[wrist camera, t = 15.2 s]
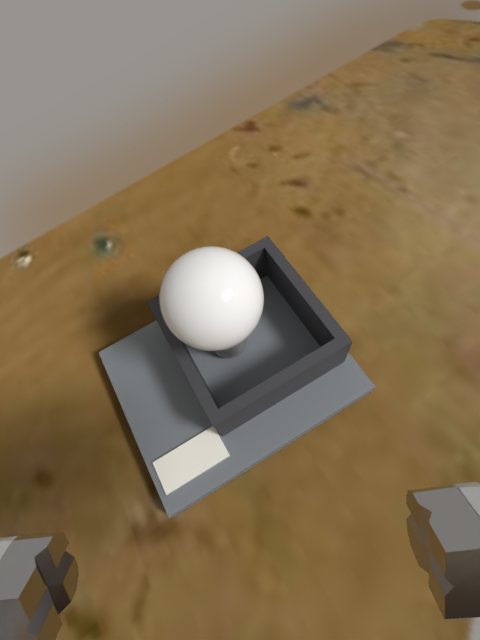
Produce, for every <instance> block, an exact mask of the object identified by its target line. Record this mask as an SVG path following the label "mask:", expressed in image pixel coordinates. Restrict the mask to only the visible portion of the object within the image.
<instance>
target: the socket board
mask: <svg viewBox="0 0 480 640" xmlns="http://www.w3.org/2000/svg"><path fill="white" fill-rule="evenodd" d="M237 253H238V254H240V255H241V256H243V257H244V258H245V259H246V260H247V261H248V262H249V263H250V264H251V265H252V266H253V267H254V269H255V270H256V272H257V274H258V276H259V278H260V280H261V283H262V286H263V291H264V306H263V312H262V315H261V318H260V320H259V322H258V324H257V326H256V328H255V329H254V330H253V332H252V333H251V334H250V335H249V336H248V337H247V338H246V346H245V348H244V350H243V351H242V352H241V353H240V354H239V355H238V356H236V357H233V358H224V357H221V356H219V355H218V354H217V353H216V352H215V351H204V350H199V349H196V348H193V347H190V346H188V345H186V344H185V343H183V342H182V341H180V340H179V339H178V338H177V337H176V336H175V335H174V334H173V333H172V332H171V331H170V330H169V328H168V327H167V325H166V323H165V321H164V319H163V317H162V314H161V310H160V303H159V296H157V297H155V298H153V299H152V300H150V301H148V302H147V303H148V305H149V307H150V309H151V311H152V313H153V315H154V317H155V318H156V321H154V322H152V323H150V324H149V325H147V326H145V327H143V328H141V329H140V330H138V331H136V332H134V333H132V334H131V335H129V336H127V337H125V338H123V339H122V340H120V341H118V342H116V343H114V344H113V345H111V346H109V347H107V348H105V349H104V350H102V351H100V352H99V355H100V357H101V359H102V362H103V364H104V366H105V369H106V371H107V374H108V376H109V378H110V381H111V383H112V385H113V388H114V390H115V392H116V395H117V397H118V399H119V402H120V404H121V407H122V409H123V411H124V414H125V416H126V418H127V421H128V423H129V425H130V428H131V430H132V433H133V435H134V437H135V440H136V442H137V444H138V447H139V449H140V451H141V454H142V456H143V459H144V461H145V463H146V466H147V468H148V470H149V473H150V475H151V477H152V480H153V482H154V484H155V487H156V489H157V492H158V494H159V496H160V499H161V501H162V503H163V506H164V508H165V510H166V513H167V515H168V518H170V517H175V516H177V515H178V514H180V513H182V512H183V511H185V510H186V509H188V508H189V507H191V506H193V505H194V504H196V503H197V502H199V501H200V500H202V499H204V498H205V497H207V496H208V495H210V494H212V493H213V492H215V491H216V490H218V489H219V488H221V487H223V486H224V485H226V484H227V483H229V482H230V481H232V480H234V479H235V478H237V477H238V476H240V475H241V474H243V473H245V472H246V471H248V470H249V469H251V468H253V467H254V466H256V465H257V464H259V463H260V462H262V461H264V460H265V459H267V458H268V457H270V456H271V455H273V454H275V453H276V452H278V451H279V450H281V449H282V448H284V447H286V446H287V445H289V444H290V443H292V442H293V441H295V440H297V439H298V438H300V437H301V436H303V435H305V434H306V433H308V432H309V431H311V430H312V429H314V428H316V427H317V426H319V425H320V424H322V423H323V422H325V421H327V420H328V419H330V418H331V417H333V416H334V415H336V414H338V413H339V412H341V411H342V410H344V409H346V408H347V407H349V406H350V405H352V404H353V403H355V402H357V401H358V400H360V399H361V398H363V397H364V396H366V395H368V394H369V393H371V392H372V391H373V389H374V388H375V386H374V384H373V383H372V382H371V380H370V379H369V378H368V377H367V375H366V374H365V373H364V372H363V370H362V369H361V368H360V366H359V365H358V364H357V363H356V361H355V360H354V359H353V357H352V356H351V355H350V354H349V349H350V346H351V344H352V340H351V339H350V338H349V337H348V335H347V334H346V333H345V332H344V330H343V329H342V328H341V327H340V325H339V324H338V323H337V322H336V320H335V319H334V318H333V317H332V315H331V314H330V313H329V312H328V310H327V309H326V308H325V307H324V305H323V304H322V303H321V302H320V300H319V299H318V298H317V297H316V295H315V294H314V293H313V292H312V291H311V289H310V288H309V287H308V286H307V284H306V283H305V282H304V281H303V279H302V278H301V277H300V276H299V274H298V273H297V272H296V271H295V269H294V268H293V267H292V266H291V264H290V263H289V262H288V261H287V259H286V258H285V257H284V256H283V254H282V253H281V252H280V251H279V249H278V248H277V247H276V246H275V244H274V243H273V242H272V241H271V239H270V238H269V237H268V236H267V237H265V238H263V239H261V240H259V241H258V242H256V243H254V244H252V245H250V246H248V247H247V248H245V249H243V250H241V251H239V252H237Z"/></svg>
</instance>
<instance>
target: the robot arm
mask: <svg viewBox="0 0 480 640" xmlns="http://www.w3.org/2000/svg"><path fill="white" fill-rule="evenodd" d="M406 504H407V506H408V508H409V510H410V512H411V515H410V516H409V517H408V518H407V531H408V536H409V540H410V544H411V547H412V550H413V553H414V555H415V558H416V560H417V562H418V564H419V566H420V567H421V568H423V569H424V570H425V571H427V572H428V573H429V588H430V590H431V592H432V594H433V596H434V598H435V600H436V602H437V604H438V607H439V609H440V611H441V613H442V615H443V617H444V619H460V618H475V617H480V484H479V483H477V482H470V483H462V484H454V485H447V486H439V487H431V488H423V489H415V490H408V492H407V495H406ZM68 544H69V542H68V540H67V538H66V536H65V534H64V533H63V532H52V533H40V534H29V535H20V536H11V537H0V640H55V639H56V637H57V635H58V632H59V630H60V628H61V625H62V621H61V617H60V613H61V612H62V611H63V610H64V609H65V608H66V607H67V606H68V605H69V604H70V603H71V601H72V599H73V596H74V594H75V591H76V588H77V581H78V565H77V562H76V560H75V557H74V556H73V555H71V554H70V553H68V552H67V551H66V548H67V546H68Z"/></svg>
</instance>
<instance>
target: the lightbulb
mask: <svg viewBox="0 0 480 640" xmlns="http://www.w3.org/2000/svg"><path fill="white" fill-rule="evenodd" d="M159 303H160V310H161V314H162V317H163V319H164V321H165V323H166V325H167V327H168V328H169V330H170V331H171V332H172V333H173V334H174V335H175V336H176V337H177V338H178V339H179V340H180V341H182V342H183V343H185V344H186V345H188V346H190V347H193V348H196V349H199V350H204V351H215V352H216V353H217V354H218V355H219V356H221V357H224V358H233V357H236V356H238V355H239V354H240V353H241V352H242V351H243V350H244V348H245V346H246V338H247V337H248V336H249V335H250V334H251V333H252V332H253V330H254V329H255V328H256V326H257V324H258V322H259V320H260V318H261V315H262V312H263V306H264V291H263V286H262V283H261V280H260V278H259V276H258V274H257V272H256V270H255V269H254V267H253V266H252V265H251V264H250V263H249V262H248V261H247V260H246V259H245V258H244V257H243V256H241V255H240V254H238V253H236V252H234V251H232V250H229V249H226V248H223V247H216V246H207V247H200V248H196V249H193V250H191V251H189V252H187V253H185V254H183V255H182V256H180V257H179V258H178V259H177V260H176V261H175V262H174V263H173V264H172V265H171V266H170V267H169V269H168V270H167V272H166V274H165V275H164V278H163V280H162V283H161V287H160V293H159Z"/></svg>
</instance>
